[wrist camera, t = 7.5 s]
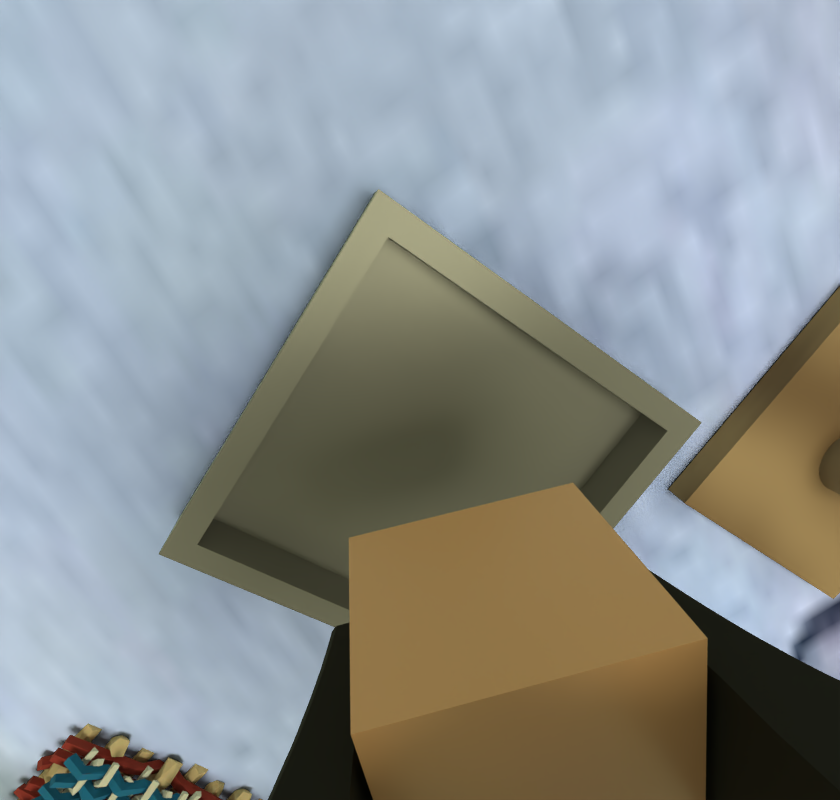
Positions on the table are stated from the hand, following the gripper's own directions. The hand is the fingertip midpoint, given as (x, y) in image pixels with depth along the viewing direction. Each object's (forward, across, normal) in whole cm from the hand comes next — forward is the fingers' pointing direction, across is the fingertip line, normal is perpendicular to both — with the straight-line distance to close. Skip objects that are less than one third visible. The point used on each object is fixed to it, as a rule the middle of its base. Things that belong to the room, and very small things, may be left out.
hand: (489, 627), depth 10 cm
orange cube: (+1, 0, 0) cm, 1 cm away
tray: (+8, 0, 0) cm, 8 cm away
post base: (+8, -15, +4) cm, 17 cm away
